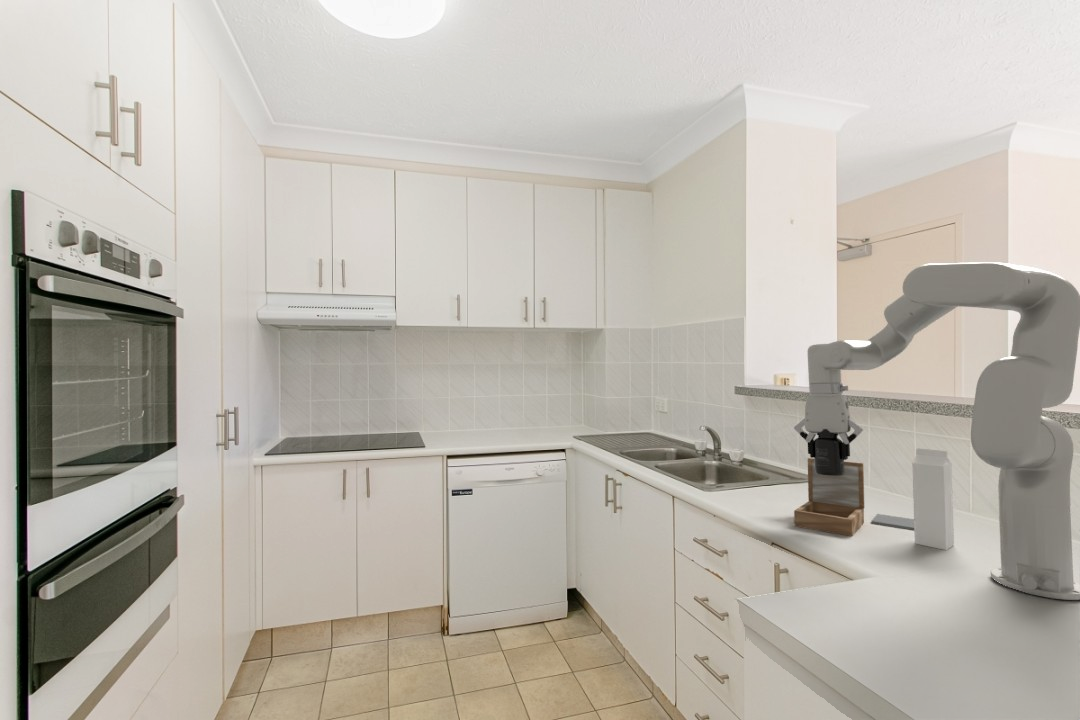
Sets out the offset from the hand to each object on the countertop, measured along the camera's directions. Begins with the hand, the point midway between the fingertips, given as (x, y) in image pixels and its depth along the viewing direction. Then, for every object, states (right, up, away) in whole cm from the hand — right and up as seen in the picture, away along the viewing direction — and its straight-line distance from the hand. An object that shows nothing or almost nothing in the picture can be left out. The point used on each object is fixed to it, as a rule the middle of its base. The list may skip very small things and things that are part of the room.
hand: (828, 457), depth 131 cm
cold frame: (+1, -18, +1) cm, 18 cm away
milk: (+16, -18, -15) cm, 28 cm away
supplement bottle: (0, -5, 0) cm, 5 cm away
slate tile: (+20, -18, +3) cm, 27 cm away
